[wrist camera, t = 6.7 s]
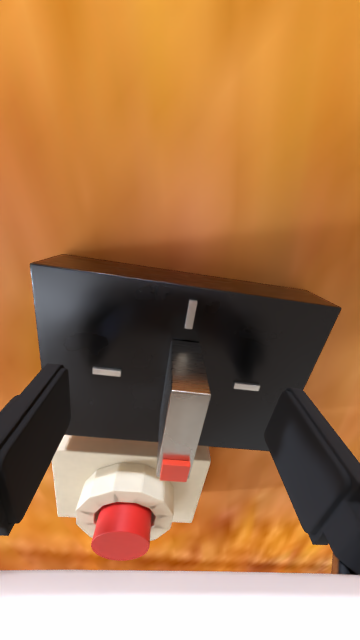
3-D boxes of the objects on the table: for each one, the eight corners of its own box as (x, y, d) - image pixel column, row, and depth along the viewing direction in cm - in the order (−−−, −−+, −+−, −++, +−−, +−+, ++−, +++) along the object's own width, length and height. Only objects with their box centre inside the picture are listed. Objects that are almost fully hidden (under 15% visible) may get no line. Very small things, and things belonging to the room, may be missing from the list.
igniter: (69, 487, 20) (45, 547, 16) (64, 422, 17) (34, 478, 13) (190, 494, 21) (193, 552, 17) (207, 434, 18) (215, 489, 14)
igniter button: (99, 526, 16) (91, 559, 14) (99, 496, 15) (90, 530, 13) (149, 528, 16) (146, 561, 15) (154, 499, 15) (152, 533, 13)
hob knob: (171, 339, 11) (171, 396, 7) (200, 342, 11) (213, 400, 7) (160, 410, 12) (155, 483, 9) (184, 412, 13) (189, 485, 9)
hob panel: (70, 397, 16) (46, 436, 13) (62, 253, 12) (26, 263, 9) (257, 415, 17) (275, 454, 14) (306, 290, 13) (345, 308, 10)
